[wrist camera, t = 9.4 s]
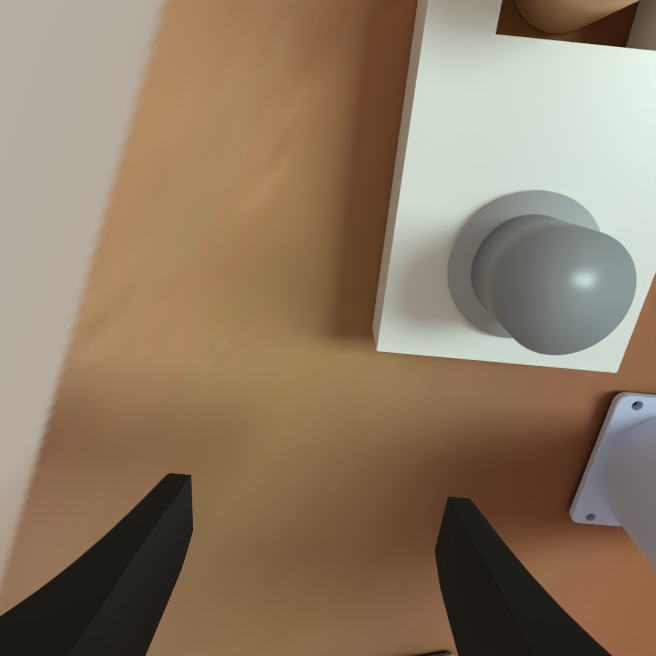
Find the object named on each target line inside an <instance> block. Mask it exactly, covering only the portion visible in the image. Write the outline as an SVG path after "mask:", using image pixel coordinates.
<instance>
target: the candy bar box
mask: <svg viewBox="0 0 656 656" xmlns="http://www.w3.org/2000/svg"><path fill="white" fill-rule="evenodd" d="M429 656H454V654H453V653H442V654H436V655H429Z"/></svg>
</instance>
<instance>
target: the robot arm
mask: <svg viewBox="0 0 656 656" xmlns="http://www.w3.org/2000/svg"><path fill="white" fill-rule="evenodd" d="M636 401H638V402H637V403H636V405H634V406H632V405H633V403H635V402H636ZM569 515H570V517H571V518H572V520H573V521H574V522H577V523H585V524H597V525H609V526H620V527H623V529H624V530H625V531H626V533H627V534H628V535H629V537H630V538H631V539H632V541H633V542H634V543H635V545H636V546H637V547H638V549H639V550H640V551H641V552H642V554H643V555H644V556H645V558H646V559H647V560H648V562H649V563H650V564H651V566H652V567H653V568H654V570H655V571H656V395H652V394H641V393H630V392H622V393H620V394H618V395H616V396H615V397H614V399H613V400H612V403H611V405H610V408H609V410H608V413H607V416H606V418H605V421H604V423H603V426H602V428H601V431H600V434H599V436H598V439H597V441H596V444H595V446H594V449H593V451H592V454H591V457H590V459H589V462H588V464H587V467H586V469H585V472H584V475H583V477H582V480H581V482H580V485H579V487H578V490H577V493H576V495H575V498H574V500H573V503H572V505H571V508H570V511H569ZM192 532H193V516H192V486H191V475H185V474H173V473H169V474H167V475H166V476H165V477H164V478H163V479H162V480H161V481H160V482H159V483H158V484H157V485H156V486H155V487H154V488H153V489H152V490H151V491H150V492H149V493H148V494H147V495H146V496H145V497H144V498H143V499H142V500H141V501H140V502H139V503H138V504H137V505H136V506H135V507H134V508H133V509H132V510H131V511H130V512H129V513H128V514H127V515H126V516H125V517H124V518H123V519H122V520H121V521H120V522H119V523H118V524H117V525H116V526H115V527H113V528H112V529H111V530H110V531H109V532H108V533H107V534H106V535H105V536H104V537H103V538H101V539H100V540H99V541H98V542H97V543H96V544H94V545H93V546H92V547H91V548H90V549H89V550H88V551H86V552H85V553H84V554H83V555H82V556H81V557H79V558H78V559H77V560H76V561H75V562H73V563H72V564H71V565H70V566H68V567H67V568H66V569H65V570H64V571H62V572H61V573H60V574H58V575H57V576H56V577H55V578H53V579H52V580H51V581H49V582H48V583H47V584H45V585H44V586H43V587H41V588H40V589H39V590H37V591H36V592H35V593H33V594H32V595H30V596H29V597H28V598H26V599H25V600H23V601H22V602H20V603H19V604H18V605H16V606H15V607H13V608H12V609H10V610H9V611H7V612H6V613H4V614H3V615H2V616H0V656H146V653H147V651H148V648H149V646H150V644H151V641H152V639H153V636H154V634H155V632H156V629H157V627H158V625H159V622H160V620H161V617H162V615H163V613H164V610H165V608H166V605H167V603H168V601H169V598H170V596H171V593H172V591H173V589H174V586H175V584H176V581H177V579H178V577H179V574H180V572H181V569H182V566H183V563H184V560H185V556H186V553H187V550H188V546H189V543H190V539H191V536H192ZM435 555H436V562H437V569H438V576H439V582H440V588H441V592H442V596H443V600H444V604H445V608H446V611H447V615H448V619H449V623H450V626H451V630H452V634H453V637H454V641H455V645H456V649H457V652H458V656H612V655H611V654H609V653H608V652H607V651H606V650H605V649H604V648H603V647H602V646H601V645H600V644H598V643H597V642H596V641H595V640H594V639H593V638H592V637H591V636H590V635H589V634H588V633H587V632H586V631H585V630H584V629H583V628H582V627H581V626H580V625H579V624H578V623H576V622H575V621H574V620H573V619H572V618H571V617H570V616H569V615H568V614H567V613H566V612H565V611H564V610H563V609H562V608H561V607H560V606H559V605H558V604H557V602H556V601H555V600H554V599H553V598H552V597H551V596H550V595H549V594H548V593H547V592H546V591H545V589H544V588H543V587H542V586H541V585H540V584H539V583H538V582H537V581H536V580H535V579H534V577H533V576H532V575H531V574H530V573H529V572H528V570H527V569H526V568H525V567H524V566H523V565H522V563H521V562H520V561H519V560H518V559H517V557H516V556H515V555H514V554H513V553H512V551H511V550H510V549H509V548H508V546H507V545H506V544H505V543H504V542H503V540H502V539H501V538H500V536H499V535H498V534H497V533H496V531H495V530H494V529H493V528H492V526H491V525H490V524H489V522H488V521H487V520H486V519H485V517H484V516H483V515H482V514H481V512H480V511H479V510H478V508H477V507H476V506H475V505H474V503H473V502H472V501H471V500H470V499H468V498H456V497H448V500H447V504H446V508H445V512H444V516H443V520H442V524H441V528H440V532H439V536H438V540H437V544H436V548H435Z"/></svg>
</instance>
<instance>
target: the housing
mask: <svg viewBox="0 0 656 656" xmlns="http://www.w3.org/2000/svg"><path fill="white" fill-rule="evenodd" d="M501 4H502V0H418V3H417V10H416V17H415V24H414V31H413V39H412V46H411V53H410V60H409V67H408V74H407V82H406V89H405V96H404V103H403V110H402V118H401V125H400V132H399V139H398V146H397V153H396V161H395V168H394V175H393V182H392V189H391V196H390V204H389V211H388V218H387V225H386V232H385V239H384V247H383V254H382V261H381V268H380V275H379V282H378V290H377V297H376V304H375V311H374V318H373V325H372V330H373V335H374V340H375V345H376V350H377V351H382V352H393V353H404V354H415V355H426V356H437V357H448V358H459V359H470V360H481V361H492V362H503V363H514V364H526V365H537V366H548V367H559V368H570V369H581V370H592V371H603V372H614V373H617V371H618V369H619V366H620V363H621V361H622V358H623V355H624V353H625V350H626V348H627V345H628V342H629V340H630V337H631V335H632V332H633V329H634V327H635V324H636V322H637V319H638V316H639V314H640V311H641V309H642V306H643V303H644V301H645V298H646V296H647V293H648V290H649V288H650V285H651V282H652V280H653V277H654V275H655V272H656V0H640V1H639V4H638V7H637V11H636V14H635V17H634V21H633V24H632V28H631V31H630V34H629V38H628V41H627V44H626V48H623V47H613V46H603V45H594V44H584V43H575V42H565V41H555V40H546V39H536V38H526V37H517V36H507V35H497V34H496V29H497V24H498V19H499V14H500V9H501Z"/></svg>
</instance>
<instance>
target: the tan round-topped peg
mask: <svg viewBox="0 0 656 656" xmlns="http://www.w3.org/2000/svg"><path fill="white" fill-rule="evenodd" d="M637 1H639V0H514V2H515V4H516V7H517V9H518V11H519V12H520V14H521V15H522V17H523V18H524V19H525V20H526V21H527V22H528V23H529V24H531V25H532V26H533V27H535V28H537V29H538V30H541V31H544V32H547V33H552V34H562V33H568V32H572V31H575V30H578V29H580V28H582V27H584V26H586V25H589V24H591V23H593V22H595V21H597V20H599V19H601V18H603V17H605V16H607V15H610V14H612V13H614V12H616V11H618V10H620V9H622V8H624V7H626V6H628V5H631V4H633V3H635V2H637Z"/></svg>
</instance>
